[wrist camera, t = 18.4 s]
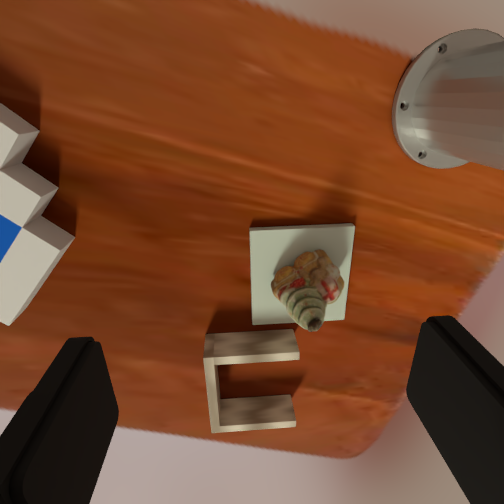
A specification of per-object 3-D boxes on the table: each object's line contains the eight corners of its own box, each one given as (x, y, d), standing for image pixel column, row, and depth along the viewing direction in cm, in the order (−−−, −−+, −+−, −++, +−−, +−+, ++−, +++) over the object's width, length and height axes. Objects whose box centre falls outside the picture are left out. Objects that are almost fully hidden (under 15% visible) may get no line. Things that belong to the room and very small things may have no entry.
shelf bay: (292, 328, 45) (299, 352, 41) (290, 400, 50) (295, 426, 46) (205, 334, 44) (203, 358, 40) (213, 405, 50) (211, 433, 46)
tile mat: (351, 223, 39) (354, 226, 38) (341, 315, 44) (344, 319, 43) (249, 227, 38) (249, 230, 37) (251, 320, 44) (252, 325, 43)
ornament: (314, 237, 38) (341, 280, 29) (345, 271, 40) (378, 321, 31) (262, 279, 40) (272, 332, 31) (294, 309, 42) (312, 367, 33)
